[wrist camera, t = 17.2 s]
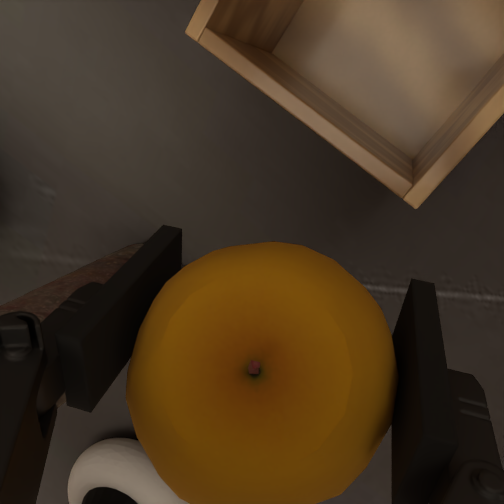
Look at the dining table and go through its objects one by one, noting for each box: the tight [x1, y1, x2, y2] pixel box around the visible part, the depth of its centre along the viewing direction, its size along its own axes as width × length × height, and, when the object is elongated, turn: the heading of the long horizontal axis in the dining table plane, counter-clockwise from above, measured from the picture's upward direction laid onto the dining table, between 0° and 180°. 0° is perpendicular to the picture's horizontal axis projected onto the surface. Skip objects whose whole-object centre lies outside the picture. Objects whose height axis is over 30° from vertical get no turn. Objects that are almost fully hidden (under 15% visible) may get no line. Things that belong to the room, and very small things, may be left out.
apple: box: [126, 241, 399, 504], centre depth 15 cm, size 9×8×9 cm
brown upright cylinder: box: [0, 244, 144, 408], centre depth 31 cm, size 8×7×20 cm
